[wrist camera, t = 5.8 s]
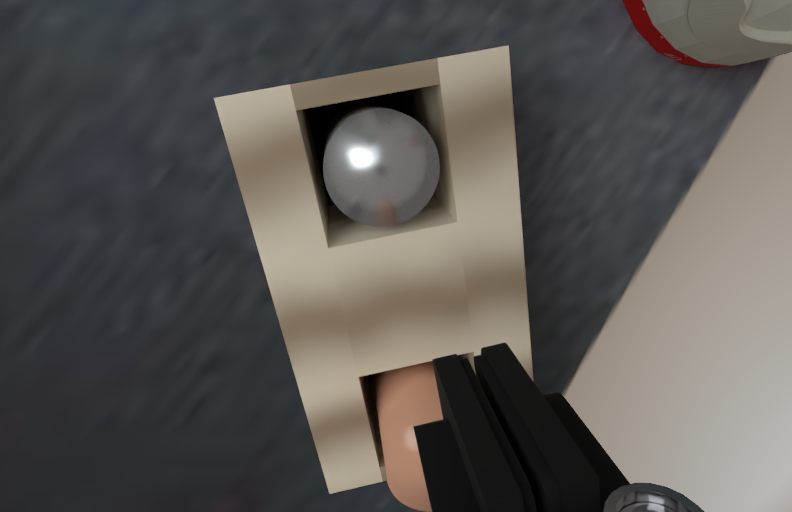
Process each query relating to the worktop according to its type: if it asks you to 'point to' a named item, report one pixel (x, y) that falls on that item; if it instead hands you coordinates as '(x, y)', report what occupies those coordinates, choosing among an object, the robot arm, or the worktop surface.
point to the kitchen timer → (714, 29)
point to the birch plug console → (385, 244)
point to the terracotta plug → (406, 427)
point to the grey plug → (379, 165)
